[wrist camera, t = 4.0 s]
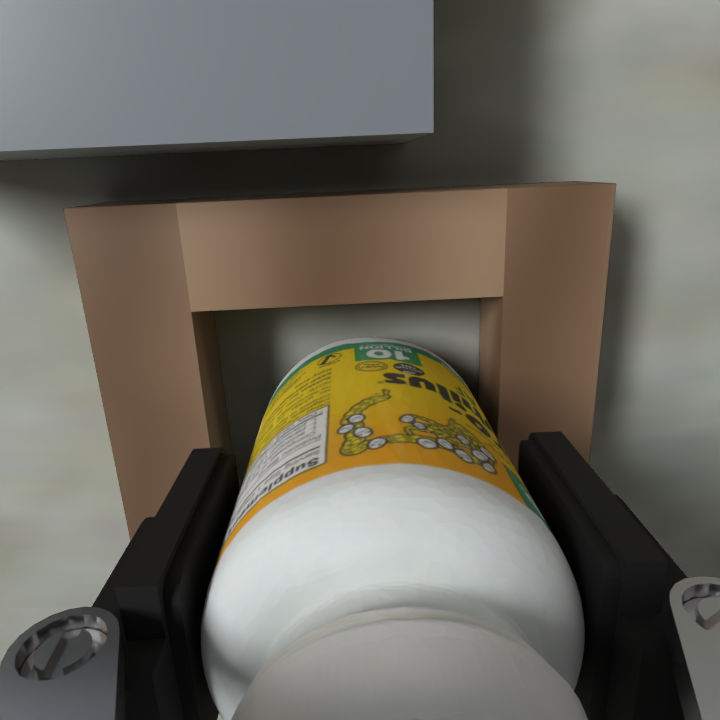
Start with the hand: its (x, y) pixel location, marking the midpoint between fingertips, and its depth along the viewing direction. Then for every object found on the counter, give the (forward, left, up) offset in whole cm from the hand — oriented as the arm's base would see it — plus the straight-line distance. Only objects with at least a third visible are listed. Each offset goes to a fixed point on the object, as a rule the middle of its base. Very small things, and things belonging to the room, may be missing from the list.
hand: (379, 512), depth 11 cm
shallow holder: (0, 0, -4) cm, 4 cm away
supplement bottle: (0, 0, -4) cm, 4 cm away
